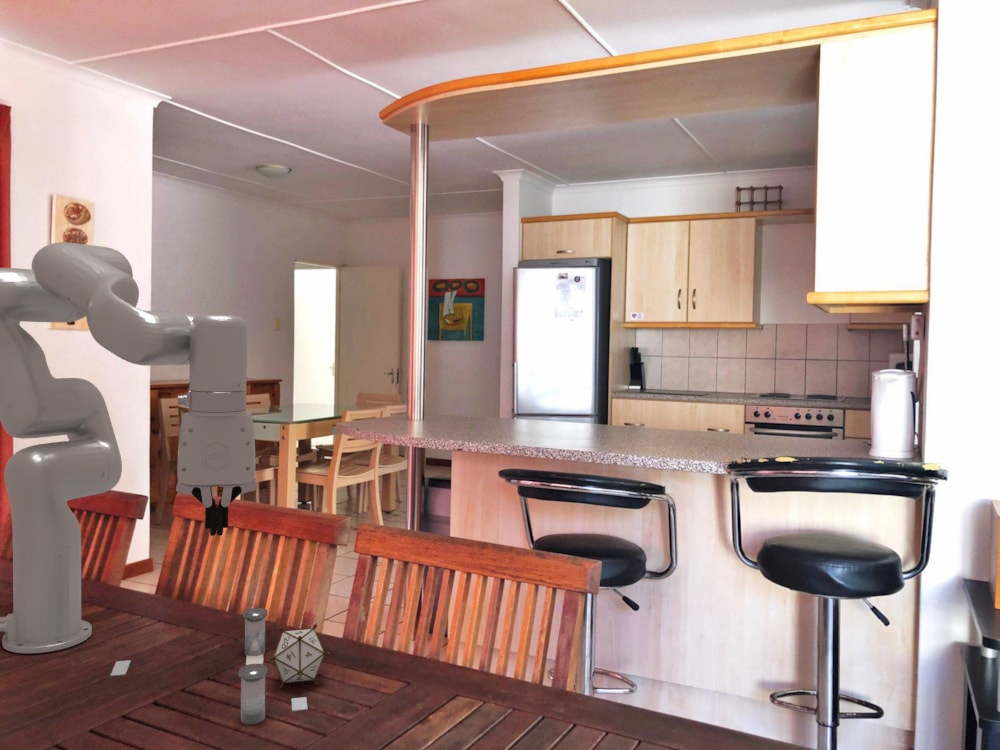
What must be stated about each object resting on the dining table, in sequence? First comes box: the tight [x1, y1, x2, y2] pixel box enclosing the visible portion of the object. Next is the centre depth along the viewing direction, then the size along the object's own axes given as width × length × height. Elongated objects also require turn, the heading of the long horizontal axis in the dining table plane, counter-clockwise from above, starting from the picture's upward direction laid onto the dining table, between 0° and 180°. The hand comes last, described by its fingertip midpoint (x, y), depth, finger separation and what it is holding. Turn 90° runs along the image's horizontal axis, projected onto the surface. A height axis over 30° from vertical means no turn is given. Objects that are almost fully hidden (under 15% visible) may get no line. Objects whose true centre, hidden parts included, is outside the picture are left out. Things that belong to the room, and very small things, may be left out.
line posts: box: [238, 607, 269, 726], centre depth 116 cm, size 4×26×7 cm, turn 16°
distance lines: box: [110, 654, 309, 712], centre depth 115 cm, size 27×22×1 cm
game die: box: [267, 623, 331, 689], centre depth 116 cm, size 9×8×10 cm
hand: (216, 533), depth 114 cm, fingers closed
